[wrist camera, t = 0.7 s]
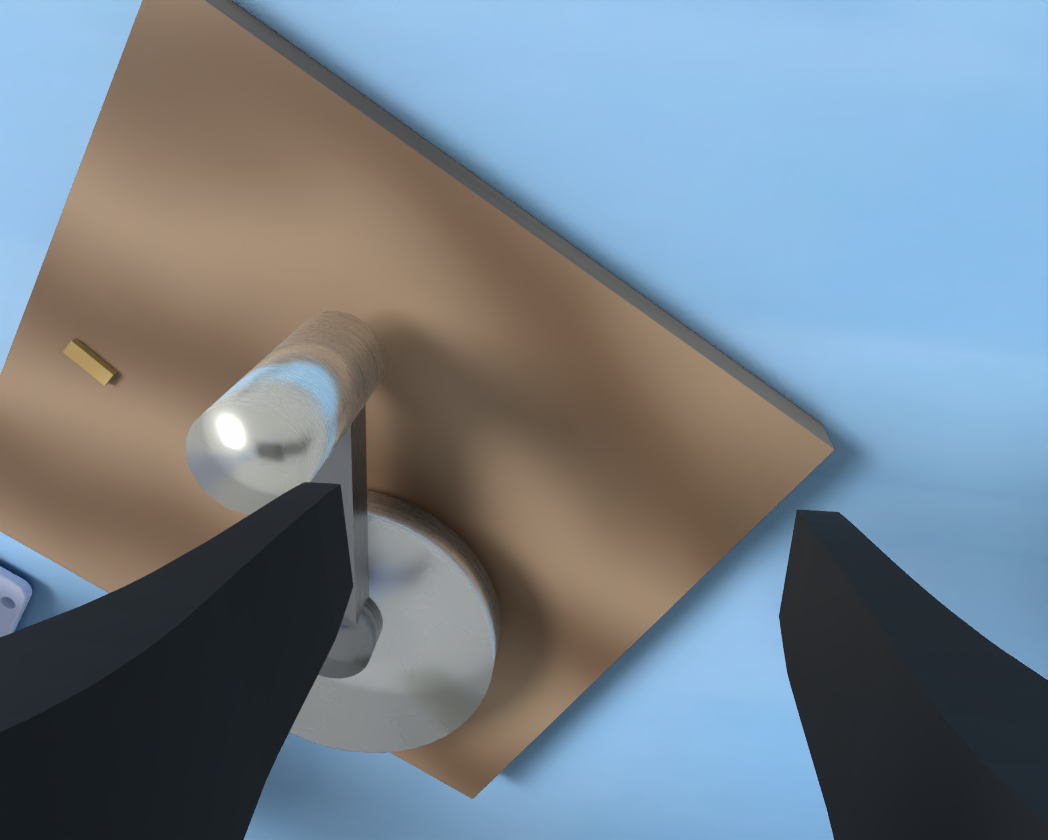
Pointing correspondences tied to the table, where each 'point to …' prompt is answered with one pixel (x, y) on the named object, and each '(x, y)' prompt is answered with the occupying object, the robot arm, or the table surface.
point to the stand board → (411, 363)
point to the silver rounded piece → (357, 543)
